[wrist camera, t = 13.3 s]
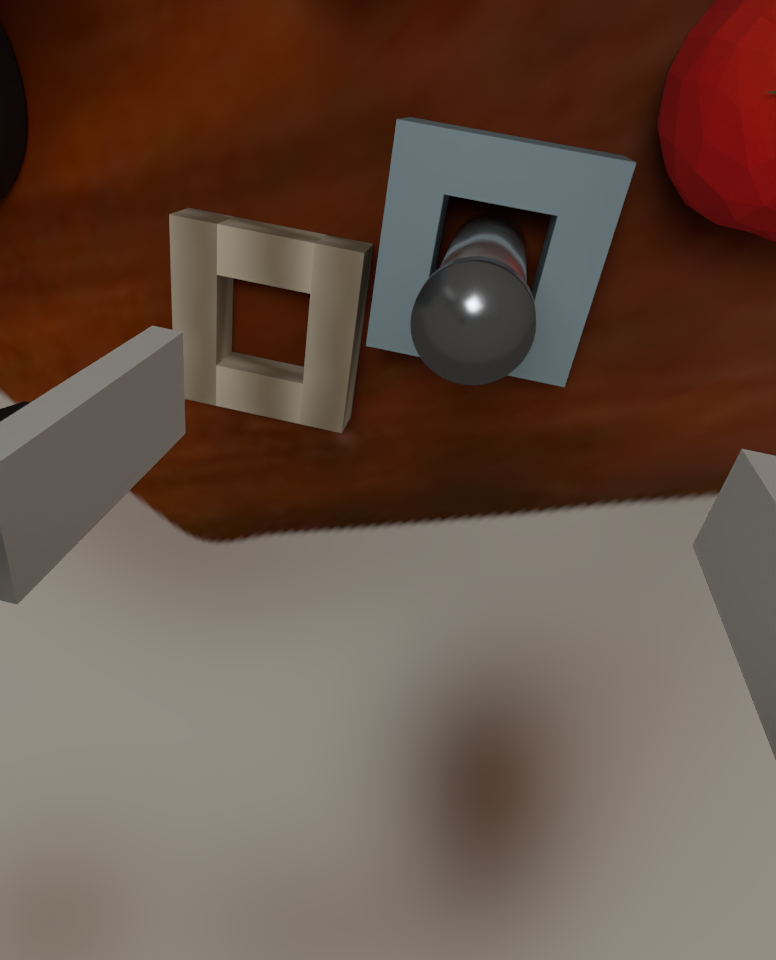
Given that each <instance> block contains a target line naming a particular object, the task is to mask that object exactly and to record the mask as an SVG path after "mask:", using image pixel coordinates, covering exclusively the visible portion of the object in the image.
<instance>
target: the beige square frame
mask: <svg viewBox="0 0 776 960" xmlns="http://www.w3.org/2000/svg"><path fill="white" fill-rule="evenodd" d="M169 226H170V258H171V290H172V323H173V330H175V331H180V332H183V359H184V399H188V400H193V401H197V402H202V403H206V404H211V405H215V406H220V407H225V408H229V409H234V410H238V411H243V412H247V413H252V414H256V415H261V416H265V417H270V418H275V419H279V420H284V421H288V422H293V423H297V424H302V425H306V426H311V427H316V428H320V429H325V430H329V431H334V432H338V433H342V432H343V430H344V428H345V427H346V425H347V423H348V421H349V419H350V417H351V412H352V404H353V397H354V389H355V382H356V374H357V366H358V359H359V351H360V344H361V336H362V328H363V321H364V313H365V305H366V298H367V290H368V283H369V275H370V267H371V260H372V252H373V245H374V244H371V243H365V242H360V241H355V240H350V239H345V238H340V237H335V236H330V235H325V234H320V233H315V232H309V231H304V230H299V229H294V228H289V227H284V226H279V225H274V224H269V223H264V222H259V221H253V220H248V219H243V218H238V217H233V216H228V215H223V214H218V213H213V212H208V211H203V210H197V209H192V208H187V209H184V210H181V211H178V212H175V213H172V214H169ZM233 278H235V279H240V280H245V281H250V282H254V283H259V284H264V285H269V286H274V287H279V288H284V289H289V290H294V291H299V292H304V293H308V294H310V305H309V317H308V329H307V341H306V352H305V364H304V367H302V366H297V365H293V364H288V363H283V362H278V361H274V360H269V359H264V358H260V357H255V356H250V355H245V354H241V353H236V352H232V319H233Z"/></svg>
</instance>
